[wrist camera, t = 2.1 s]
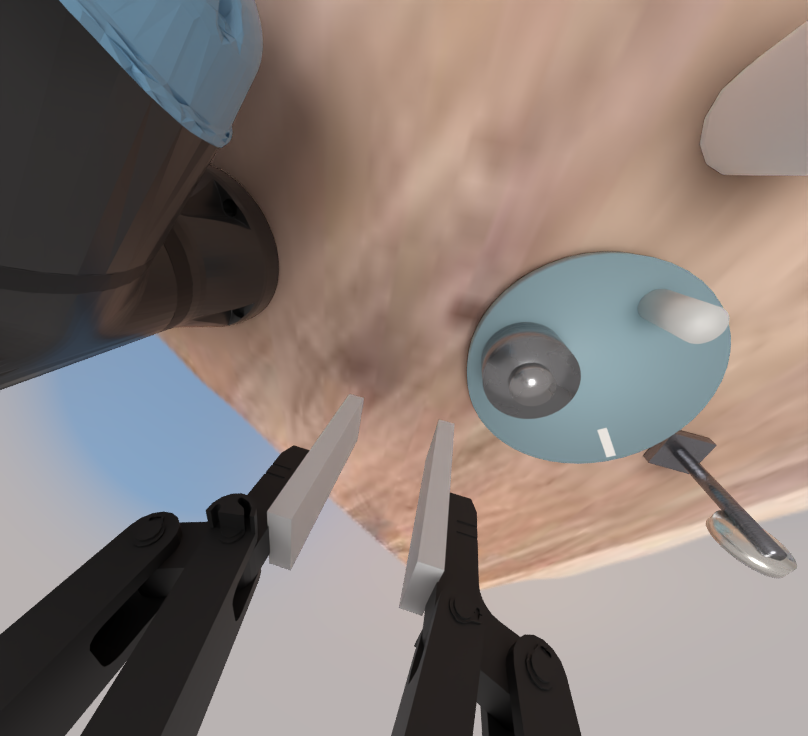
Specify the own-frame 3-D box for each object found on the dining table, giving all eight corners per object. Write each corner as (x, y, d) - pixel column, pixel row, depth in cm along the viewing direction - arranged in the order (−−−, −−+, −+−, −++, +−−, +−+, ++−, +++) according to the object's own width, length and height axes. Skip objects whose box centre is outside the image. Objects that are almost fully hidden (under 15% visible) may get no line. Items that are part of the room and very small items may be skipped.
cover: (471, 382, 28) (471, 412, 23) (496, 312, 24) (502, 332, 20) (544, 402, 27) (558, 436, 23) (580, 333, 24) (605, 358, 19)
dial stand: (641, 455, 31) (728, 572, 20) (664, 426, 29) (773, 538, 18) (684, 467, 30) (795, 592, 20) (711, 438, 28) (848, 560, 18)
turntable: (444, 419, 33) (439, 465, 26) (509, 225, 23) (524, 226, 17) (626, 471, 31) (665, 533, 25) (776, 285, 22) (900, 310, 15)
